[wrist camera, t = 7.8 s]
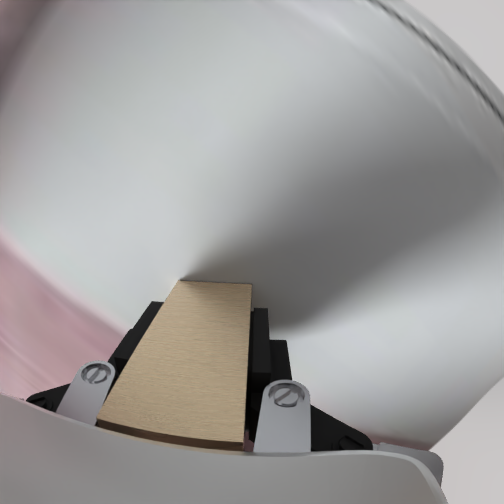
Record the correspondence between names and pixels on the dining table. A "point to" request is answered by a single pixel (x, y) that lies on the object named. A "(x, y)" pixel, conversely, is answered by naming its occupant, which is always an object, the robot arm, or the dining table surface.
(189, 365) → the wood and grey bar
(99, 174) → the dining table surface
